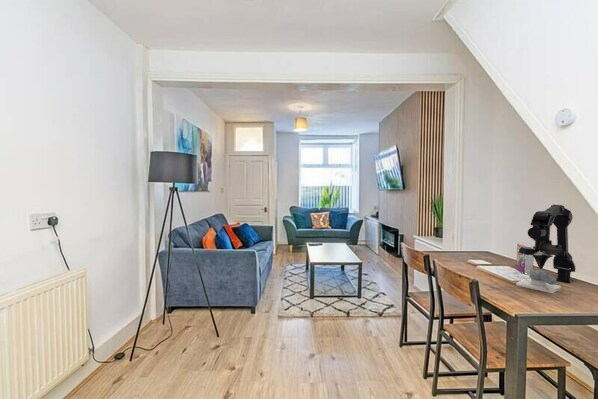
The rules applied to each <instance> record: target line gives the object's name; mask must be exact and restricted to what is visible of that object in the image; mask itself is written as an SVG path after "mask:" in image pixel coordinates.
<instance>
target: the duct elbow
mask: <svg viewBox="0 0 598 399" xmlns="http://www.w3.org/2000/svg"><path fill="white" fill-rule="evenodd" d="M528 275H529V276H528V277H529V279H531V278H532V279H535V280H542V281H544V282H546V283H548V284H550V285H556V283H557V281H556V278H557V277H554V276H553V275H550V274H549V271H545V270H543V269H534V268H533V269H532V270H530V273H529V274H528Z"/></svg>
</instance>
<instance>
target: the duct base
mask: <svg viewBox="0 0 598 399" xmlns="http://www.w3.org/2000/svg"><path fill="white" fill-rule="evenodd" d="M530 280H531V281H525V280H524V279H522V280H520V281H518V282H516V283H515V286H517V287H522V288H527V289H531V290H536V291H541V292H546V293H549V294H554V293H556V292H558V291H559V290H560V289H561V287H562V286H561V285H559V284H558V285H557V284H554V285H550V284H548V283H546V282H544V281H542V280H535V279H532V278H530Z"/></svg>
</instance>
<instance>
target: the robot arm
mask: <svg viewBox="0 0 598 399" xmlns="http://www.w3.org/2000/svg"><path fill="white" fill-rule="evenodd" d="M573 217H574V216H573V213H572V212H571V210H569V209H567V208H566V207H565V205H562V204H552V205H550V207H549V208H547V209H545V210H538V211H535V213H534V214H533V216H532V219H531V221H530V226H532V227H530V228H529V229H528V230H527V235H528V237H529V238H530V239H532V240H533V241H534V245H533V246H532V247H533V249H531V248H528V247H521V248H520V249H519V253H522V254H525V255H533V259H534V260H535V262H536V264H537V266H538V269H539V270H543V268H544V267H545V265H546V262H547V261H548V259H550V258H552V257H553V256H554V257H553V260H552V265H553V269H554V270H557V272H556V273H557V275H556V276H557V277H555V278H556V282H557V281H558V282H562V283H567V284H570V283H572V282H573V279H571V273H575V272H576V265H575V262H574V260H573V256H572V254H570V252H569V234H568V233H569V232H568V228H569V226H570V225H571V223H572V220H573ZM553 225H554V226H555V227H556V241H557V244H553V242H552V240H550V235H551V228H552V226H553Z"/></svg>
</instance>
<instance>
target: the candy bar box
mask: <svg viewBox="0 0 598 399" xmlns="http://www.w3.org/2000/svg"><path fill="white" fill-rule="evenodd" d="M516 245H517V246H516V268H515V269H516V270H517V271H518V270H519V271H518V272H520V271H521V272H520V273H522V272H523V273H527V274H526V275H529V273H530V270H532V269H534V257H533V255H525V254H522V253H519V249H520V248H521V247H528V248H531V249H533V246H531V245H528V244H527V243H517V244H516ZM523 273H522V274H523Z"/></svg>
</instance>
